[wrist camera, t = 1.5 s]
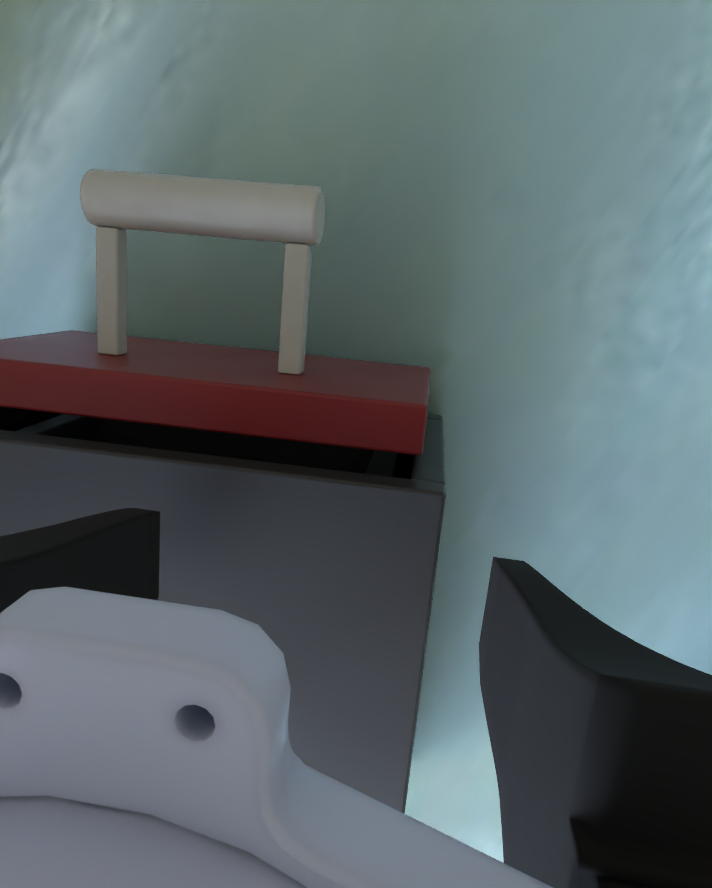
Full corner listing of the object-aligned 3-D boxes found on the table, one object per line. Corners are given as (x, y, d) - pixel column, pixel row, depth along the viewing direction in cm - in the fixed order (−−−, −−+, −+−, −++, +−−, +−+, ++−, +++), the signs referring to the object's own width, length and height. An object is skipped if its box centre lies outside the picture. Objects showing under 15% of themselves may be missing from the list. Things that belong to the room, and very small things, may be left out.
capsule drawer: (66, 183, 21) (-102, 139, 14) (448, 214, 20) (455, 181, 13) (78, 673, 26) (-46, 808, 19) (389, 722, 24) (371, 883, 18)
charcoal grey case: (69, 373, 23) (-132, 423, 15) (442, 414, 22) (446, 493, 14) (77, 716, 27) (-80, 906, 19) (398, 769, 26) (380, 998, 18)
